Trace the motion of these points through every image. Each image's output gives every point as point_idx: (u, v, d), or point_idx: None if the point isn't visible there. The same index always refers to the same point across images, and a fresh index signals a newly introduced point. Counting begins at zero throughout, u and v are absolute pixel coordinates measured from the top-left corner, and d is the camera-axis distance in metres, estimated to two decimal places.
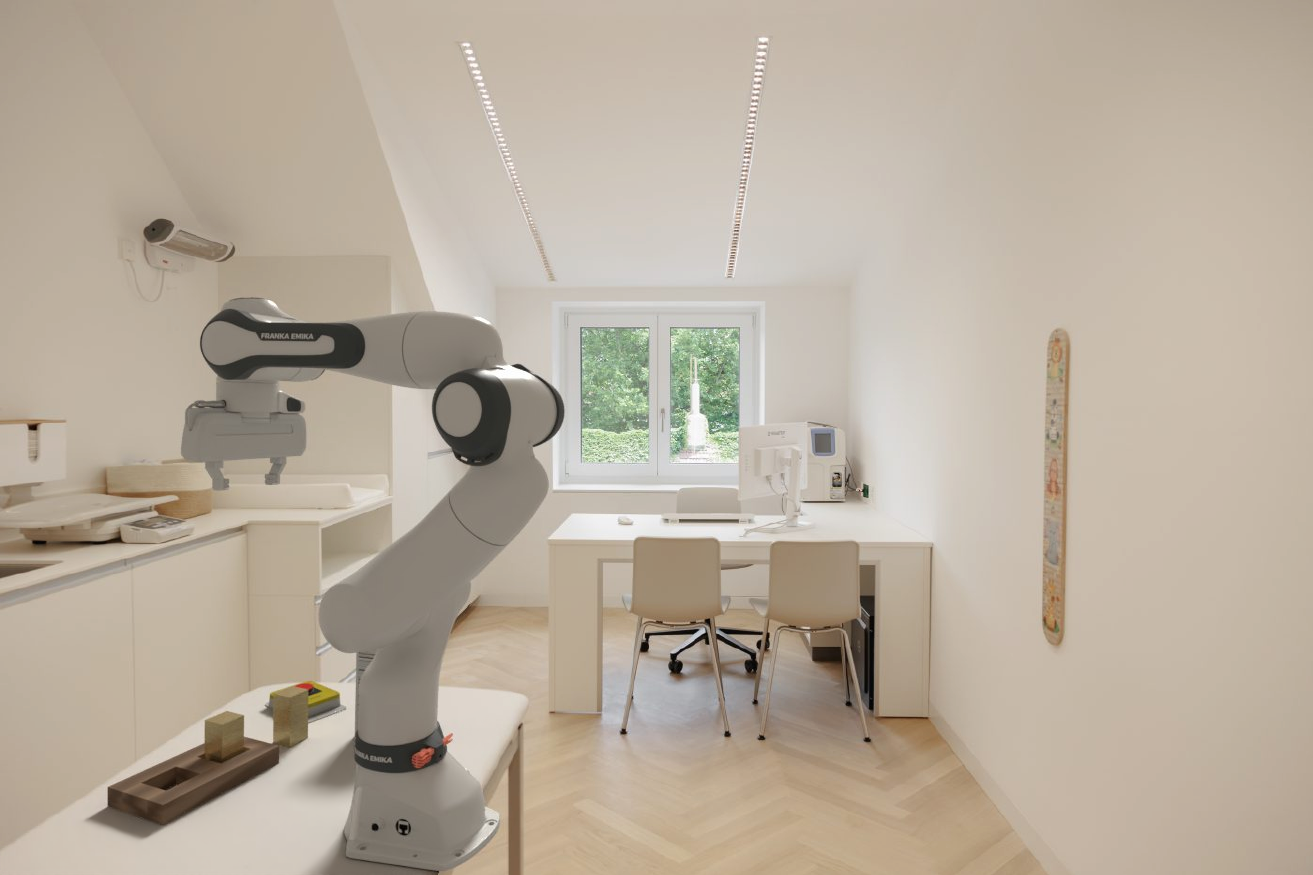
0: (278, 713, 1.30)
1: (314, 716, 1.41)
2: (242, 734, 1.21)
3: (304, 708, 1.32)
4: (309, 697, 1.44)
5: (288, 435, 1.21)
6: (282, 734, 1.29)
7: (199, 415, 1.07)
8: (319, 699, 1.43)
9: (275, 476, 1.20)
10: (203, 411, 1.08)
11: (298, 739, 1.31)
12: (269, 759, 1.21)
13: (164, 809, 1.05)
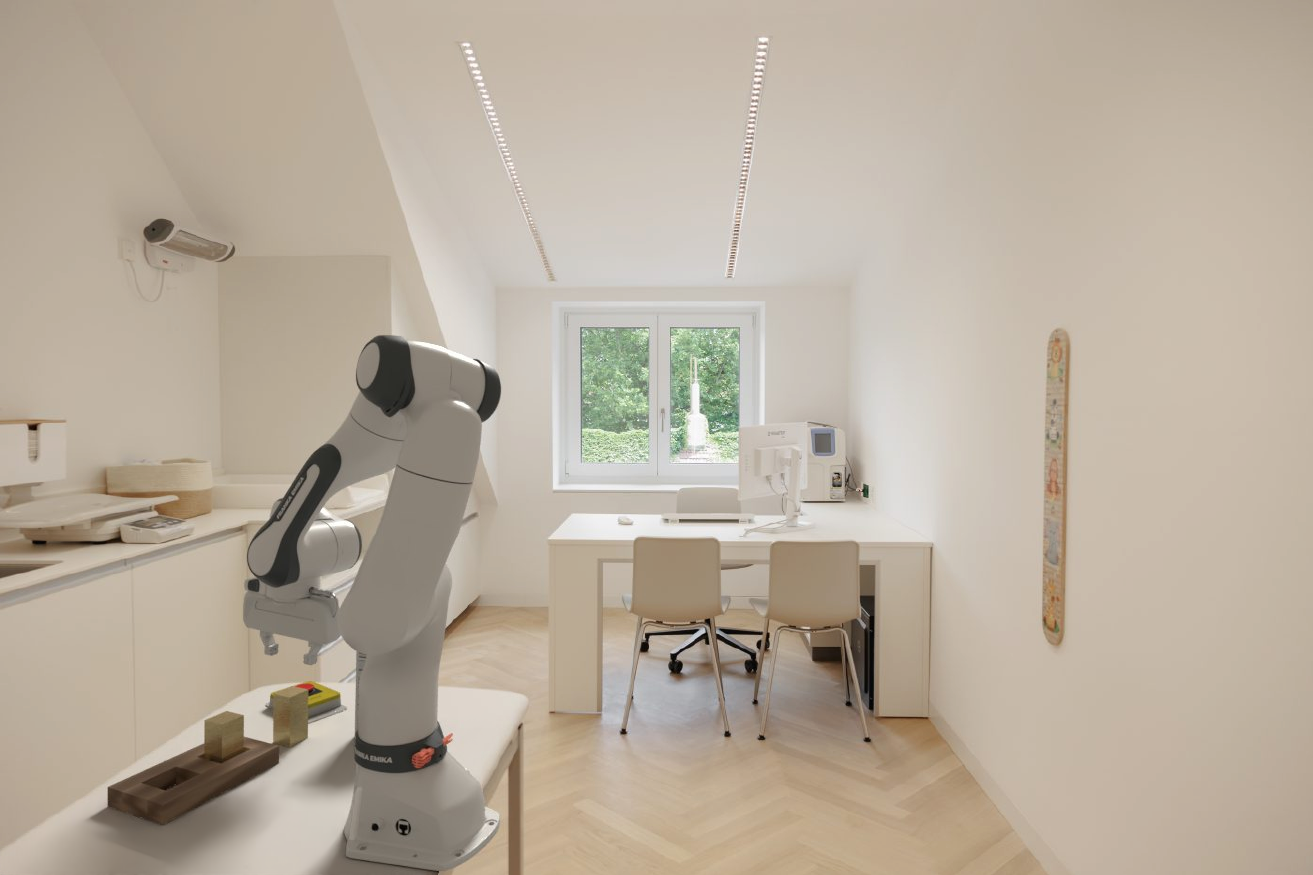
0: (278, 713, 1.30)
1: (314, 716, 1.41)
2: (242, 734, 1.21)
3: (304, 708, 1.32)
4: (310, 697, 1.44)
5: None
6: (282, 734, 1.29)
7: None
8: (319, 699, 1.43)
9: None
10: None
11: (298, 739, 1.31)
12: (269, 759, 1.21)
13: (164, 809, 1.05)
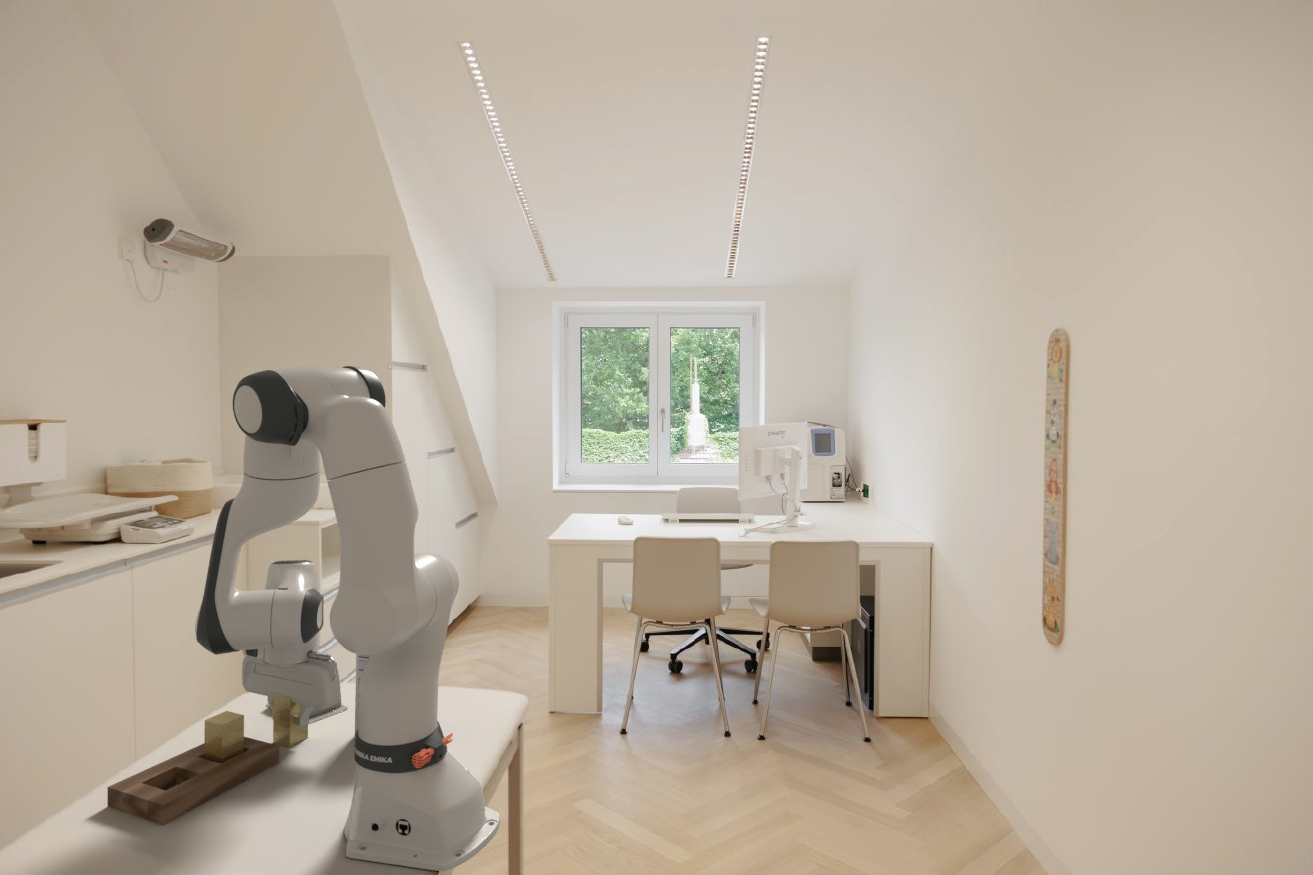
0: (278, 713, 1.30)
1: (315, 717, 1.41)
2: (242, 734, 1.21)
3: None
4: None
5: None
6: (282, 734, 1.29)
7: None
8: None
9: None
10: None
11: (298, 739, 1.31)
12: (269, 759, 1.21)
13: (164, 809, 1.05)
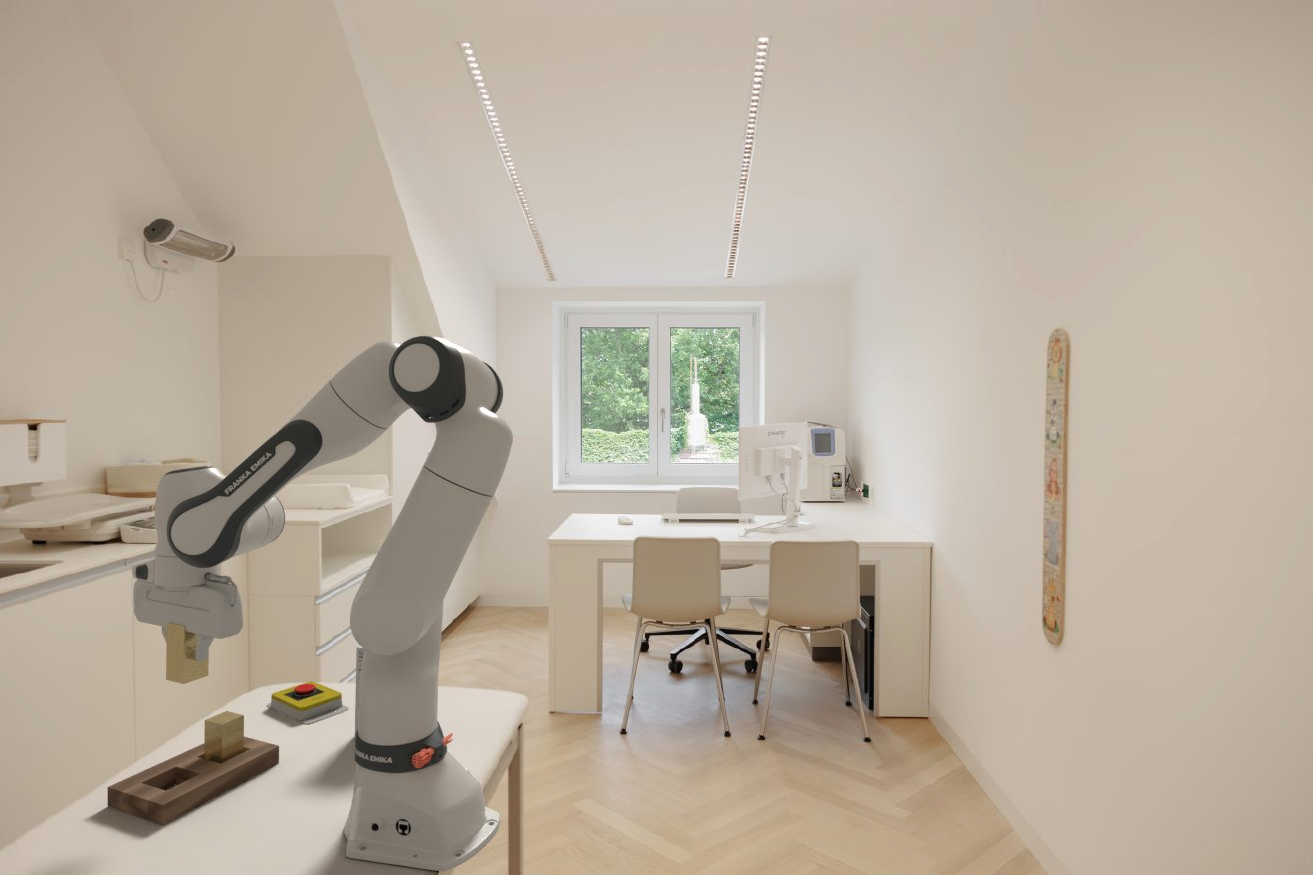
0: (171, 645, 1.12)
1: (316, 717, 1.41)
2: (242, 734, 1.21)
3: None
4: (311, 698, 1.44)
5: None
6: (176, 669, 1.11)
7: None
8: (321, 700, 1.43)
9: None
10: None
11: (195, 676, 1.12)
12: (269, 759, 1.21)
13: (164, 809, 1.05)
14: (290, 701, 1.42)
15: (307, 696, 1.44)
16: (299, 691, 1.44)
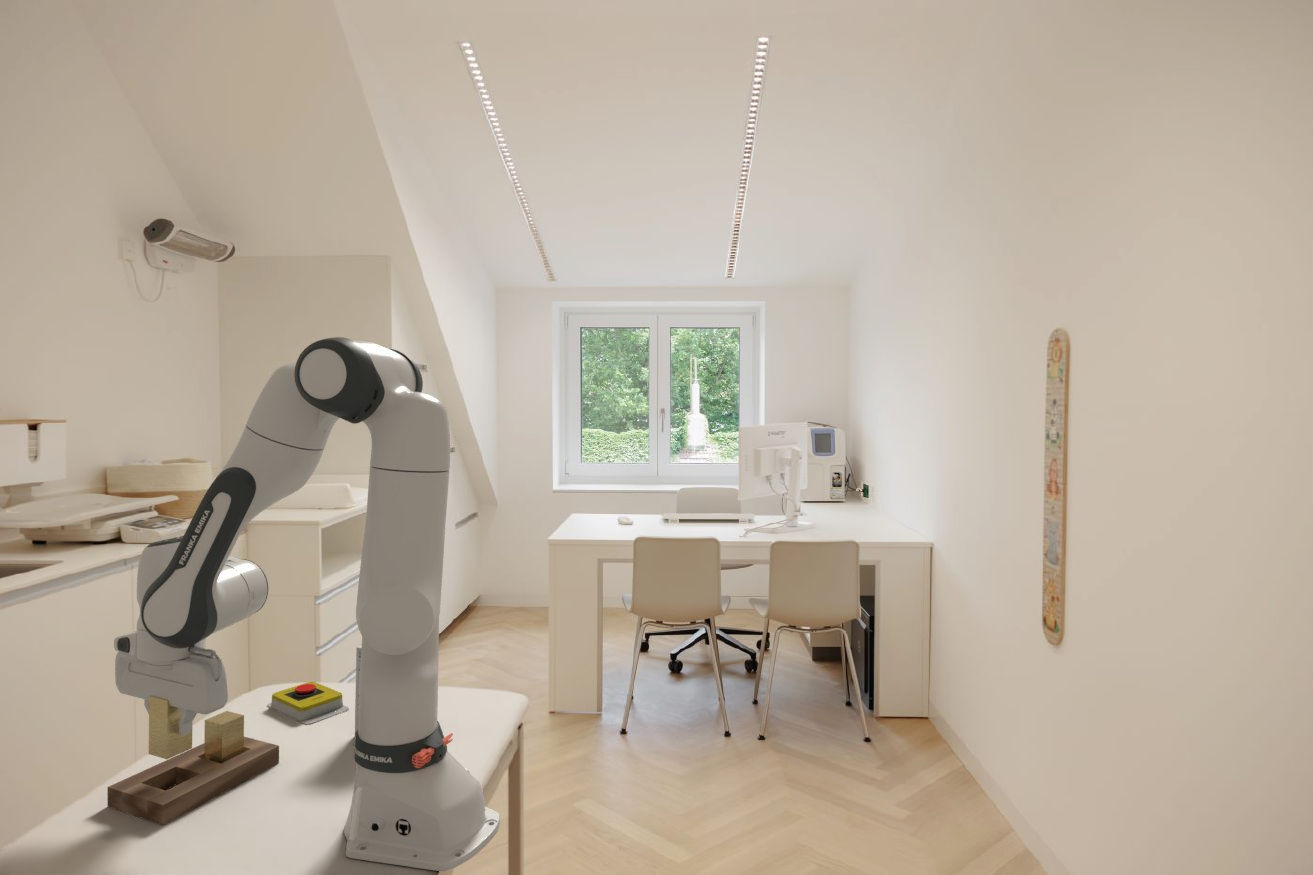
0: (154, 719, 1.10)
1: (316, 717, 1.41)
2: (242, 734, 1.21)
3: None
4: (311, 698, 1.44)
5: None
6: (158, 744, 1.09)
7: None
8: (321, 700, 1.43)
9: None
10: None
11: (179, 750, 1.11)
12: (269, 759, 1.21)
13: (164, 809, 1.05)
14: (291, 701, 1.42)
15: (307, 696, 1.44)
16: (299, 691, 1.44)
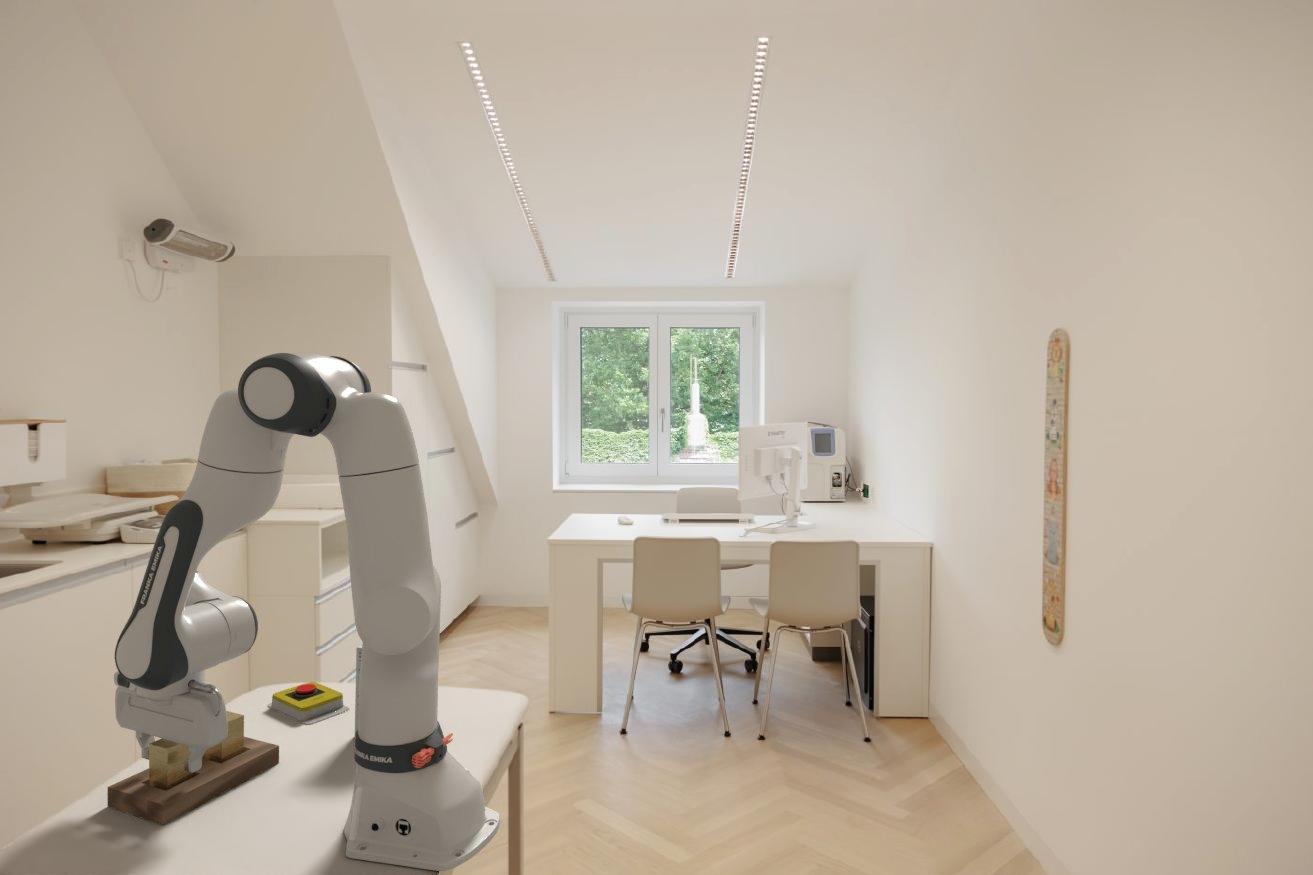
0: (154, 767, 1.10)
1: (317, 717, 1.41)
2: (242, 734, 1.21)
3: None
4: (312, 698, 1.44)
5: None
6: None
7: None
8: (322, 700, 1.43)
9: None
10: None
11: None
12: (269, 759, 1.21)
13: (164, 809, 1.05)
14: (291, 701, 1.42)
15: (308, 696, 1.44)
16: (300, 691, 1.44)
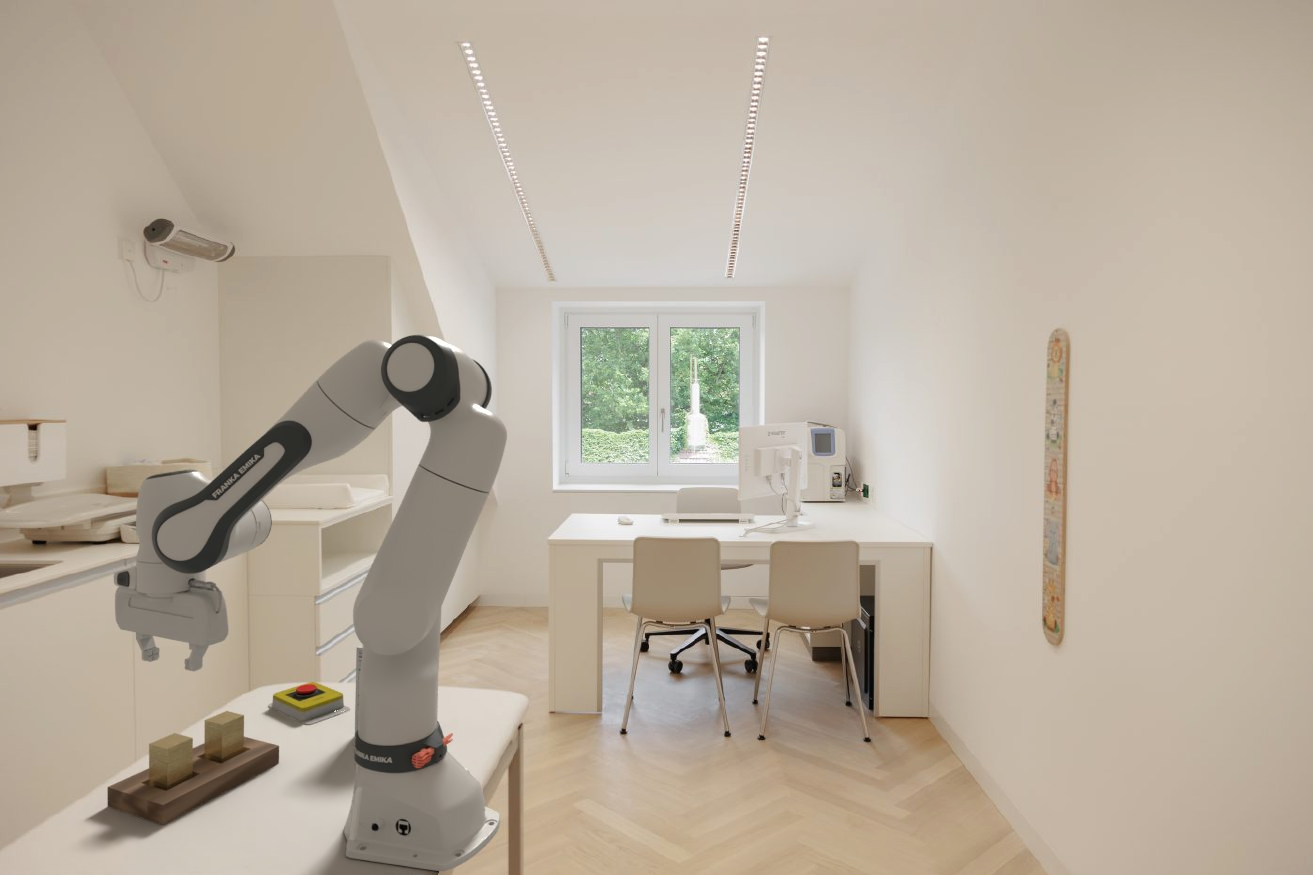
0: (154, 767, 1.10)
1: (317, 717, 1.41)
2: (242, 734, 1.21)
3: (187, 760, 1.12)
4: (312, 698, 1.43)
5: None
6: None
7: None
8: (322, 700, 1.43)
9: None
10: None
11: None
12: (269, 759, 1.21)
13: (164, 809, 1.05)
14: (292, 701, 1.42)
15: (308, 696, 1.44)
16: (301, 691, 1.44)
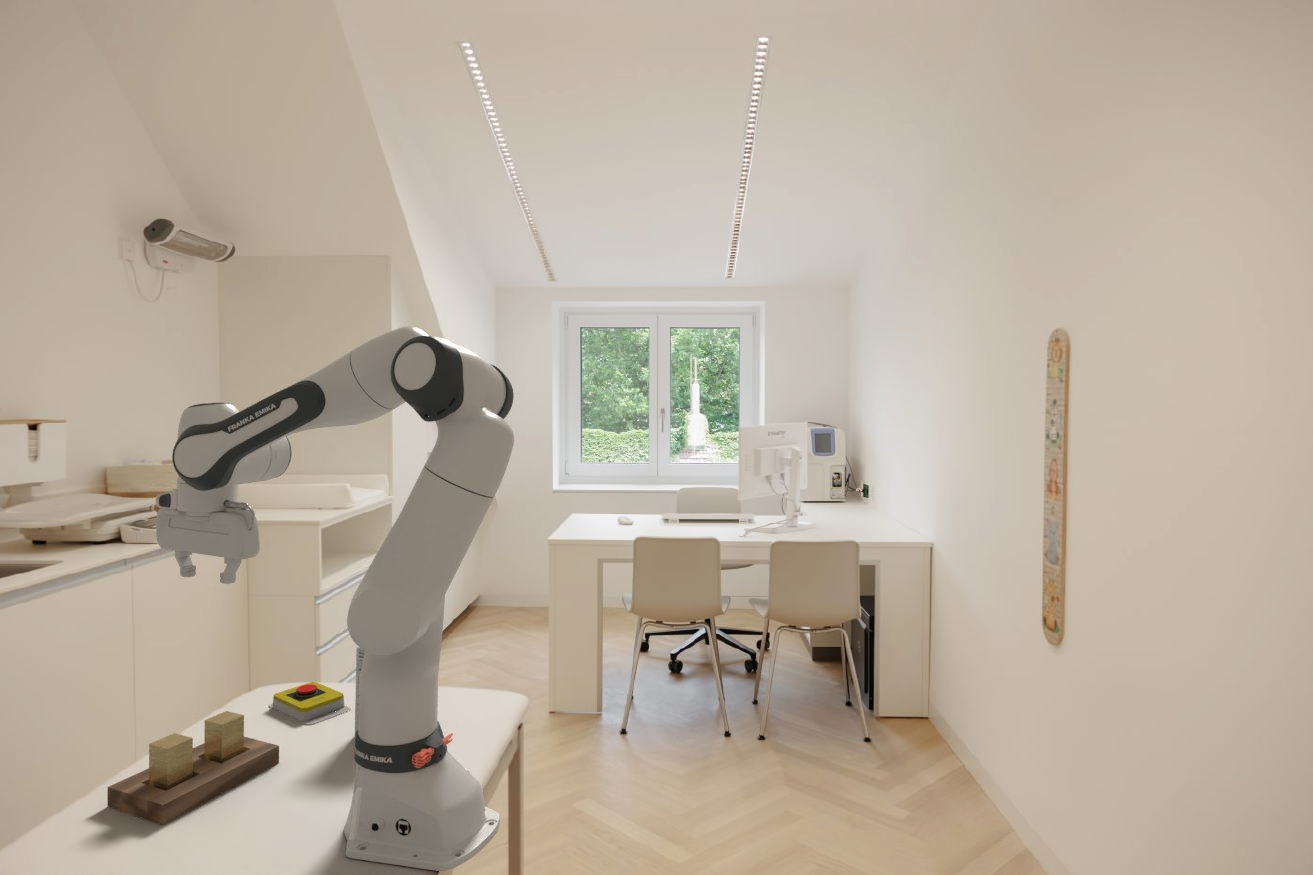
0: (154, 767, 1.10)
1: (318, 718, 1.40)
2: (242, 734, 1.21)
3: (187, 760, 1.12)
4: (313, 698, 1.43)
5: None
6: None
7: None
8: (323, 700, 1.43)
9: None
10: None
11: None
12: (269, 759, 1.21)
13: (164, 809, 1.05)
14: (292, 701, 1.42)
15: (309, 697, 1.44)
16: (301, 692, 1.44)
